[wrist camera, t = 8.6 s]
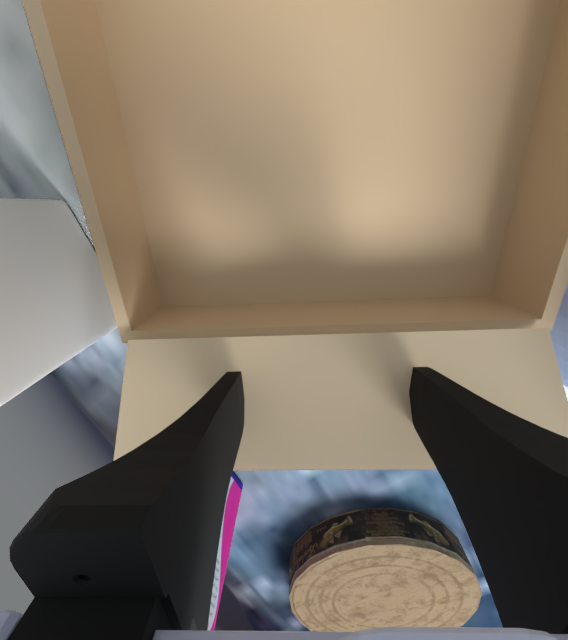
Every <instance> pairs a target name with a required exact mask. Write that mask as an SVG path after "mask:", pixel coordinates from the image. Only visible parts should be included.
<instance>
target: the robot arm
mask: <svg viewBox="0 0 568 640" xmlns="http://www.w3.org/2000/svg"><path fill="white" fill-rule="evenodd" d="M550 335H551V339H552V343H553V347H554V351H555V355H556V359H557V363H558V367H559V370H560V374H561V378H562V382H563V386H564V388H568V284H567V287H566V290H565V293H564V296H563V299H562V302H561V305H560V308H559V311H558V314H557V317H556V319H555V322H554V325H553V328H552V331H550ZM409 397H410V405H411V413H412V421H413V425H414V427H415V430H416V432H417V434H418V435H419V437H420V439H421V441H422V443H423V445H424V446H425V448H426V450H427V452H428V454H429V455H430V457H431V459H432V461H433V462H434V464H435V466H436V468H437V470H438V471H439V473H440V475H441V477H442V479H443V480H444V482H445V484H446V486H447V488H448V490H449V492H450V494H451V496H452V498H453V501H454V503H455V505H456V507H457V510H458V512H459V514H460V516H461V519H462V521H463V523H464V526H465V528H466V531H467V533H468V535H469V538H470V540H471V543H472V545H473V548H474V550H475V552H476V555H477V557H478V560H479V563H480V565H481V568H482V570H483V573H484V576H485V578H486V581H487V583H488V586H489V589H490V591H491V594H492V597H493V600H494V602H495V605H496V608H497V611H498V614H499V616H500V619H501V622H502V625H503V628H474V627H380V628H372V629H364V630H359V631H357V632H303V631H207V629H208V621H209V613H210V605H211V597H212V589H213V582H214V575H215V568H216V561H217V553H218V547H219V540H220V534H221V527H222V521H223V515H224V509H225V503H226V497H227V492H228V488H229V483H230V480H231V476H232V472H233V468H234V465H235V461H236V457H237V453H238V450H239V446H240V442H241V438H242V434H243V428H244V403H245V398H244V390H243V382H242V373H241V371H235V372H226V373H225V374H224V375H223V376H222V377H221V378H220V379H219V380H218V381H217V382H216V383H215V384H214V386H213V387H212V388H211V389H210V390H209V391H208V392H207V393H206V394H205V395H204V396H203V397H202V398H201V399H200V400H199V401H198V402H196V403H195V404H194V405H193V406H192V407H191V408H190V409H189V410H187V411H186V412H185V413H184V414H183V415H182V416H181V417H179V418H178V419H177V420H176V421H174V422H173V423H172V424H170V425H169V426H168V427H166V428H165V429H164V430H162V431H161V432H160V433H158V434H157V435H155V436H154V437H152V438H151V439H149V440H148V441H146V442H144V443H143V444H141V445H140V446H138V447H137V448H135V449H134V450H132V451H130V452H128V453H127V454H125V455H123V456H122V457H120V458H118V459H116V460H114V461H112V462H111V463H109V464H107V465H105V466H103V467H101V468H99V469H98V470H95V471H93V472H91V473H89V474H87V475H85V476H83V477H81V478H78V479H76V480H74V481H72V482H70V483H68V484H66V485H63V486H61V487H59V488H57V489H55V490H54V491H53V493H52V494H51V495H50V496H49V497H48V499H47V500H46V501H45V502H44V503H43V505H42V506H41V507H40V508H39V510H38V511H37V512H36V513H35V514H34V516H33V517H32V518H31V519H30V520H29V522H28V523H27V524H26V525H25V527H24V528H23V529H22V530H21V531H20V533H19V534H18V535H17V536H16V537H15V539H14V540H13V542H12V544H11V546H10V561H11V562H12V565H13V567H14V569H15V570H16V572H17V573H18V574H19V576H20V577H21V578H22V580H23V581H24V583H25V584H26V585H27V587H28V588H29V590H30V591H31V593H32V594H33V595H34V597H35V598H34V599H33V601H32V602H31V604H30V605H29V607H28V609H27V610H26V612H25V613H24V615H22V614H21V613H18V612H16V611H13V610H6V609H1V610H0V640H568V438H567V437H564V436H562V435H559V434H557V433H554V432H552V431H550V430H547V429H545V428H542V427H540V426H538V425H536V424H534V423H531V422H529V421H527V420H525V419H523V418H520V417H518V416H516V415H514V414H512V413H510V412H508V411H506V410H504V409H502V408H501V407H499V406H497V405H495V404H493V403H491V402H489V401H487V400H486V399H484V398H482V397H480V396H478V395H477V394H475V393H473V392H471V391H470V390H468V389H466V388H464V387H463V386H461V385H459V384H458V383H456V382H454V381H453V380H451V379H449V378H448V377H446V376H444V375H442V374H441V373H439V372H437V371H435V370H434V369H432V368H430V367H413V370H412V376H411V383H410V389H409Z"/></svg>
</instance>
